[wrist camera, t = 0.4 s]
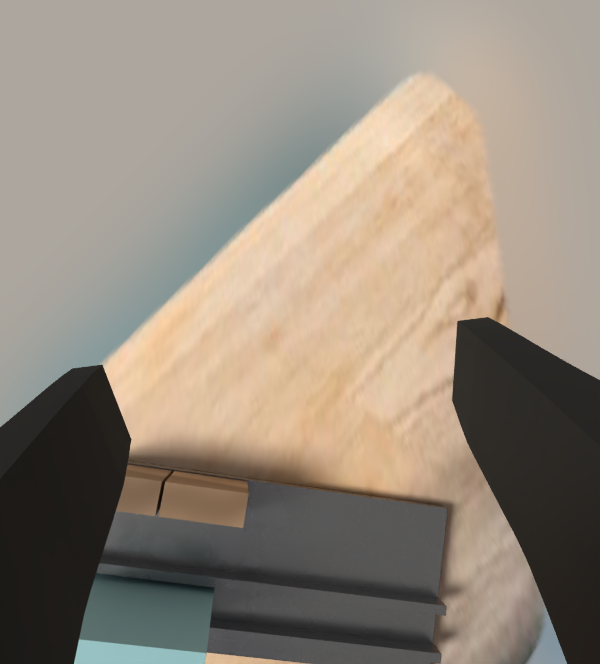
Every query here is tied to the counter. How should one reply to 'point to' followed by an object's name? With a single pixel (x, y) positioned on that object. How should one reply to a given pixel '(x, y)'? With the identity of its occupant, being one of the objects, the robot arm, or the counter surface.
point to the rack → (301, 572)
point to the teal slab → (144, 622)
